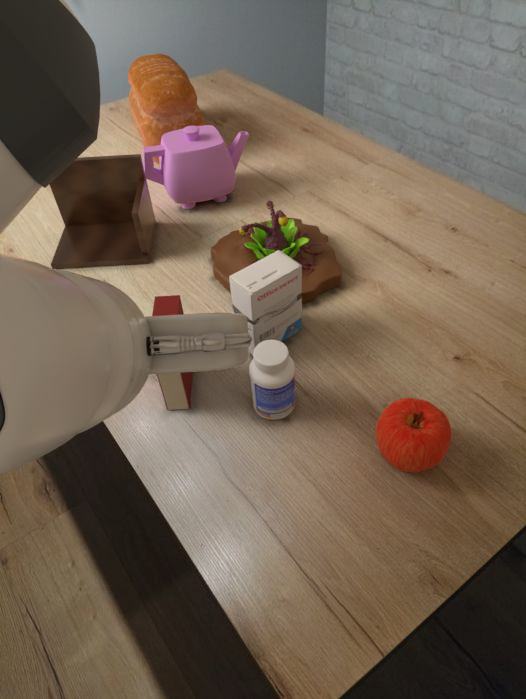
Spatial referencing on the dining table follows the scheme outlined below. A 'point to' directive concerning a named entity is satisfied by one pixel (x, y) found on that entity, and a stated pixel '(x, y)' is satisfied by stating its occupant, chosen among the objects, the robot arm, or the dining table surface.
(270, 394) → the pill bottle
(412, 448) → the apple
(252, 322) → the ink box
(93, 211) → the book stand
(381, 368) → the dining table surface
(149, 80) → the bread
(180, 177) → the teapot
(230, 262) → the plant
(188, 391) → the book
